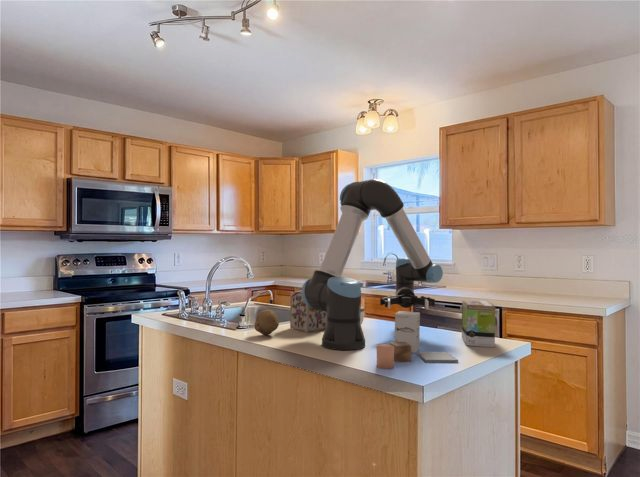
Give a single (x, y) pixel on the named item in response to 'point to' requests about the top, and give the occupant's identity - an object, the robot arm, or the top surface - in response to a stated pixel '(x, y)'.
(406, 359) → the walnut block
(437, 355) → the slate tile
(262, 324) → the natural sponge
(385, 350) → the peach rounded cylinder
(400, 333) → the supplement box
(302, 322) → the decorative jar
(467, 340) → the tea box
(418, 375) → the top surface
